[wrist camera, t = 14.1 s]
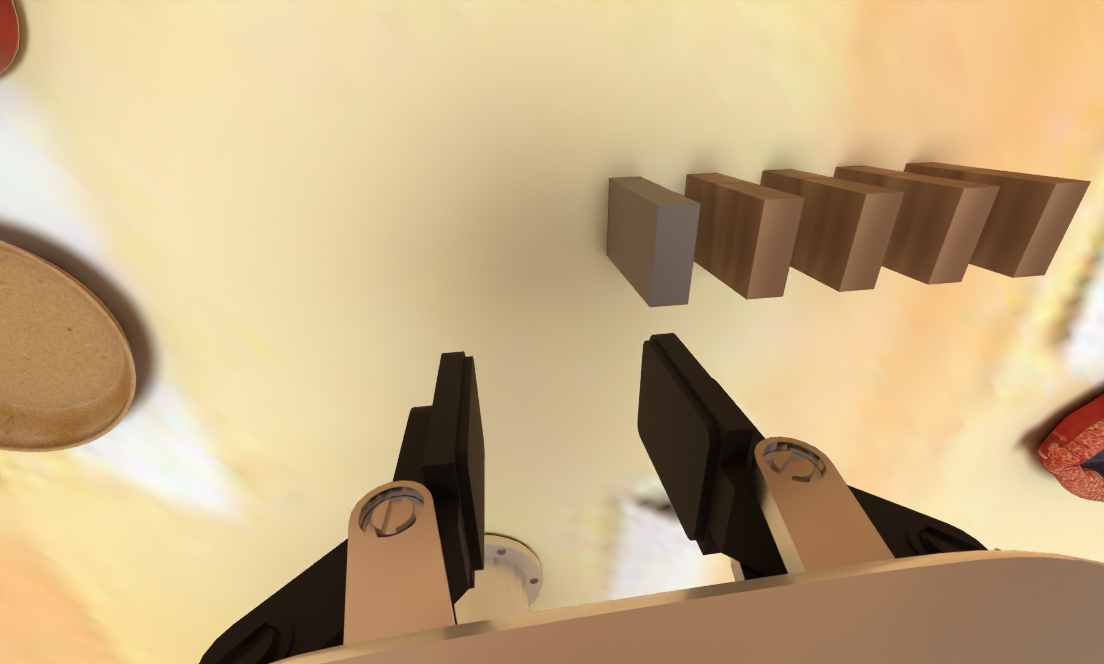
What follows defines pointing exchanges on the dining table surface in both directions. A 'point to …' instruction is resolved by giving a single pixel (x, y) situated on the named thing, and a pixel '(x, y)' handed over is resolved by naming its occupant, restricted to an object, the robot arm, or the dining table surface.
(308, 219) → the dining table surface
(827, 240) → the tile
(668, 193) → the dark gray tile
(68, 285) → the plant saucer
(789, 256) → the tile
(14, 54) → the soda can
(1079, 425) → the dish
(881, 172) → the tile
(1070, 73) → the dining table surface
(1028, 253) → the brown wooden block
